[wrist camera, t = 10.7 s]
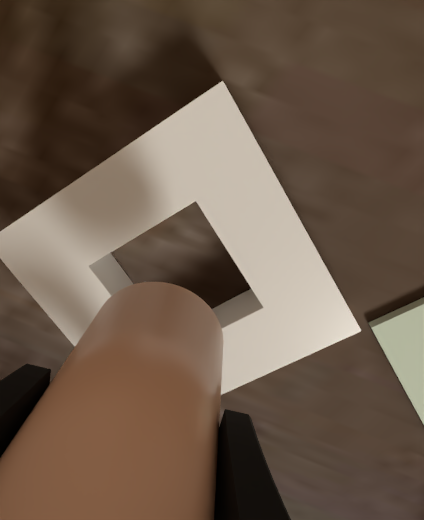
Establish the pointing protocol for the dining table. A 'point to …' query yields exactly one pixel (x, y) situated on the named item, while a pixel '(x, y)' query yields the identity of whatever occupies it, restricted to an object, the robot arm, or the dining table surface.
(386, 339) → the mat
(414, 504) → the dining table surface
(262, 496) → the robot arm
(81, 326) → the socket block
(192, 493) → the plug
